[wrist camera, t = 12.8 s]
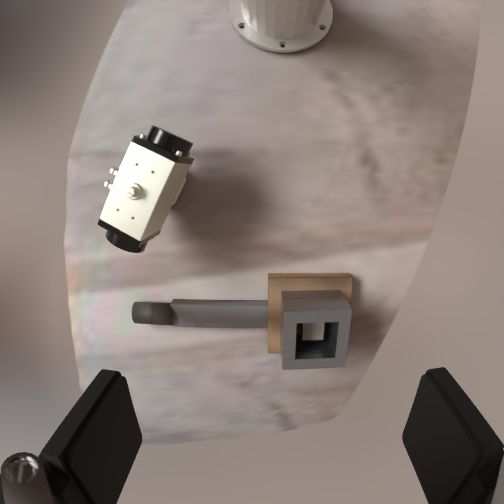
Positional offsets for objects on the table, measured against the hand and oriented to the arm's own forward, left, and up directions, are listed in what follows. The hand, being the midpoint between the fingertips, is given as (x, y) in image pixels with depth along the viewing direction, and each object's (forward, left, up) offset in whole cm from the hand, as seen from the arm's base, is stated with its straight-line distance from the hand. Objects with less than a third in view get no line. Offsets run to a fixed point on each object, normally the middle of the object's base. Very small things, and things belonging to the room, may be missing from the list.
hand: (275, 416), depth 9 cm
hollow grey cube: (+10, +5, -28) cm, 31 cm away
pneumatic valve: (-6, -12, -31) cm, 33 cm away
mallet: (+10, -3, -30) cm, 32 cm away
